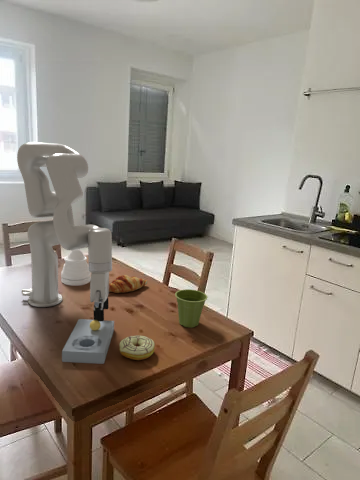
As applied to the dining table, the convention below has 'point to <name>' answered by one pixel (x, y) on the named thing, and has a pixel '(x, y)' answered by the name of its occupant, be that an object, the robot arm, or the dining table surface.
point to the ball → (95, 325)
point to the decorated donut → (137, 347)
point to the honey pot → (75, 269)
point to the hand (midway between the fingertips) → (101, 314)
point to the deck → (88, 342)
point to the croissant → (126, 284)
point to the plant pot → (190, 306)
